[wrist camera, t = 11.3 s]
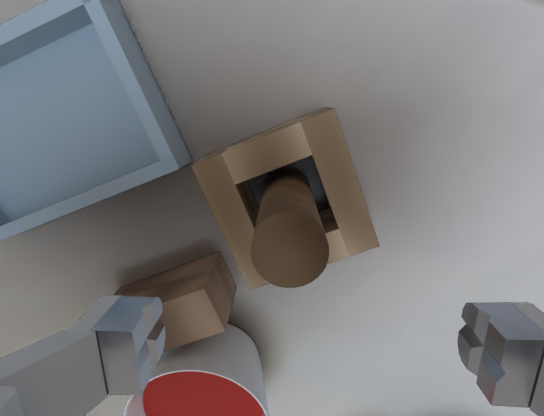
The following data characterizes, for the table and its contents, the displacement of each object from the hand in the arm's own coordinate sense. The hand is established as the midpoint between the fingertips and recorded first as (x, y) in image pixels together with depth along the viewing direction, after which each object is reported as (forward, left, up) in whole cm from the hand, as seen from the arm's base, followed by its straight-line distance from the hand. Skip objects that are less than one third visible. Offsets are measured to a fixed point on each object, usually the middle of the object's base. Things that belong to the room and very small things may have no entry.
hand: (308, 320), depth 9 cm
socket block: (0, 0, -14) cm, 14 cm away
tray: (-12, +9, -14) cm, 21 cm away
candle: (-10, -10, -14) cm, 20 cm away
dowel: (0, 0, -14) cm, 14 cm away
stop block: (-10, -4, -14) cm, 18 cm away
